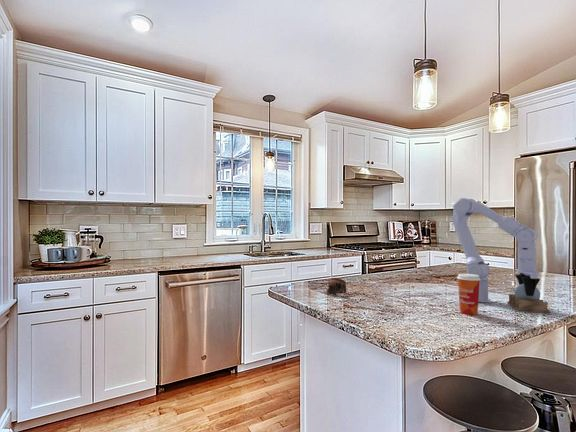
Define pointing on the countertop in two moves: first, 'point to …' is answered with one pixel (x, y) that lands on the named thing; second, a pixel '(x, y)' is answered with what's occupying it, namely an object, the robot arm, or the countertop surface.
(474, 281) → the paper cup
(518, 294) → the grey rounded disc
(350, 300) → the countertop surface
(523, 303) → the rack
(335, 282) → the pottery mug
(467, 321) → the countertop surface
